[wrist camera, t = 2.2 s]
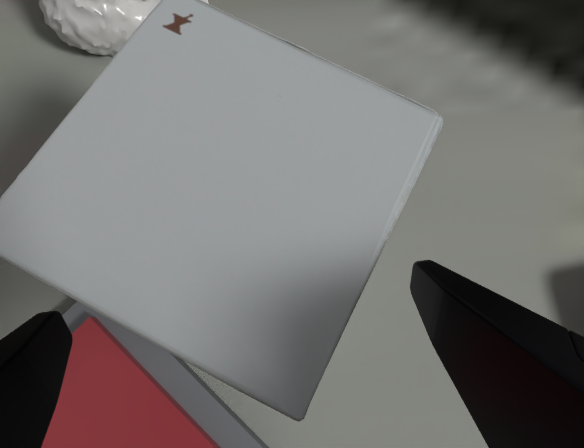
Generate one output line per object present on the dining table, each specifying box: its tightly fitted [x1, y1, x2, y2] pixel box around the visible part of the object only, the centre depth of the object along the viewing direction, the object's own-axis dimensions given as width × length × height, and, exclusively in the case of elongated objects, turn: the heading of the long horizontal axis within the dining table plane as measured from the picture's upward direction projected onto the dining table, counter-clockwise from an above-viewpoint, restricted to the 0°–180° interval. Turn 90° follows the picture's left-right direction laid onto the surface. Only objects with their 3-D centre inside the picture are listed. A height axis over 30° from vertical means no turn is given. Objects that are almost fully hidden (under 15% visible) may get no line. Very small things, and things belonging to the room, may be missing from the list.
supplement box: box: [0, 0, 443, 421], centre depth 13 cm, size 7×7×13 cm
